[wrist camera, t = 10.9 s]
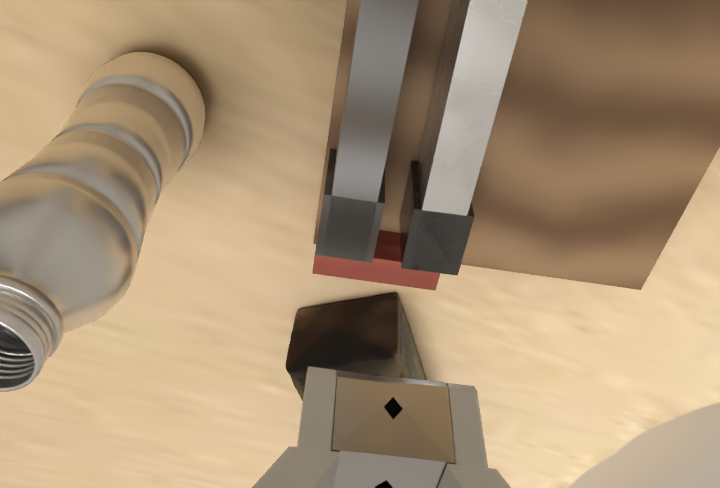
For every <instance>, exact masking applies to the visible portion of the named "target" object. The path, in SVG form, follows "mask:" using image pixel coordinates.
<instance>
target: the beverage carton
mask: <svg viewBox="0 0 720 488" xmlns="http://www.w3.org/2000/svg"><path fill="white" fill-rule="evenodd" d="M308 367H317V368H325V369H332V370H336V371H337V370H341V371H348V372H355V373H362V374H369V375H376V376H383V377H390V378H391V377H399V378H409V379H418V380H426V378H425V374H424V371H423V368H422V365H421V362H420V358H419V355H418V352H417V349H416V346H415V343H414V340H413V337H412V334H411V331H410V328H409V325H408V323H407V320H406V317H405V315H404V311H403V308H402V306H401V304H400V301H399V298H398V294H396V293H394V294H388V295H381V296H376V297H371V298H366V299H359V300H353V301H348V302H338V303H333V304H329V305H320V306H316V307H306V308H301V309H298V311H297V314H296V317H295V321H294V326H293V331H292V334H291V341H290V344H289V349H288V354H287V360H286V370H287V371H288V373H289V374H290V376H291V378H292V381H293V384H294V386H295V388H296V389H297V391H298V393H299V395H300V397H301V399H302V401H303V397H304V389H305V382H306V375H307V370H308Z"/></svg>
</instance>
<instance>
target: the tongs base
mask: <svg viewBox="0 0 720 488" xmlns="http://www.w3.org/2000/svg"><path fill="white" fill-rule="evenodd" d="M451 4H452V0H348V1H347V8H346V15H345V23H344V30H343V37H342V44H341V51H340V58H339V65H338V72H337V79H336V87H335V94H334V101H333V108H332V115H331V122H330V129H329V136H328V143H327V151H326V158H325V165H324V172H323V179H322V186H321V193H320V200H319V207H318V215H317V222H316V229H315V236H314V244H316V251H315V258H314V266H313V274H320V275H328V276H335V277H342V278H349V279H357V280H364V281H371V282H378V283H386V284H393V285H400V286H407V287H414V288H422V289H429V290H435V289H436V286H437V283H438V279H439V276H440V273H435V272H427V271H419V270H410V269H402V268H401V250H400V222H399V217H400V212H401V207H402V202H403V198H404V193H405V188H406V183H407V178H408V173H409V169H410V164H411V162H417V163H418V159H419V154H420V149H421V145H422V140H423V135H424V131H425V126H426V121H427V117H428V112H429V107H430V103H431V98H432V93H433V89H434V84H435V79H436V75H437V70H438V65H439V61H440V56H441V51H442V47H443V42H444V37H445V32H446V28H447V23H448V18H449V14H450V9H451ZM719 147H720V0H528V2H527V5H526V9H525V12H524V16H523V19H522V23H521V26H520V30H519V34H518V37H517V41H516V44H515V48H514V51H513V55H512V58H511V62H510V65H509V69H508V73H507V76H506V80H505V83H504V87H503V90H502V94H501V97H500V101H499V104H498V108H497V112H496V115H495V119H494V122H493V126H492V129H491V133H490V136H489V140H488V143H487V147H486V151H485V154H484V158H483V161H482V165H481V168H480V172H479V175H478V179H477V182H476V186H475V190H474V193H473V197H472V200H471V202H472V207H473V212H474V216H475V217H474V221H473V224H472V227H471V231H470V234H469V238H468V241H467V245H466V248H465V251H464V255H463V258H462V262H461V264H462V265H469V266H476V267H483V268H490V269H497V270H504V271H511V272H518V273H525V274H532V275H540V276H547V277H554V278H561V279H568V280H575V281H582V282H589V283H596V284H603V285H610V286H617V287H624V288H631V289H638V290H641V288H642V287H643V285H644V283H645V281H646V279H647V278H648V276H649V274H650V272H651V270H652V268H653V267H654V265H655V263H656V261H657V259H658V258H659V256H660V254H661V252H662V250H663V248H664V247H665V245H666V243H667V241H668V239H669V238H670V236H671V234H672V232H673V230H674V228H675V227H676V225H677V223H678V221H679V219H680V218H681V216H682V214H683V212H684V210H685V208H686V207H687V205H688V203H689V201H690V199H691V198H692V196H693V194H694V192H695V190H696V189H697V187H698V185H699V183H700V181H701V179H702V178H703V176H704V174H705V172H706V170H707V169H708V167H709V165H710V163H711V161H712V159H713V158H714V156H715V154H716V152H717V150H718V149H719Z"/></svg>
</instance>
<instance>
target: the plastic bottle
mask: <svg viewBox="0 0 720 488" xmlns="http://www.w3.org/2000/svg"><path fill="white" fill-rule="evenodd" d="M204 123H205V106H204V100H203V97H202V94H201V92H200V89H199V88H198V86H197V84H196V83H195V81H194V80H193V78H192V77H191V76H190V75H189V74H188V73H187V71H185V70H184V69H183V68H182V67H181V66H179V65H178V64H177V63H175V62H173V61H172V60H170V59H168V58H166V57H163V56H161V55H158V54H154V53H148V52H132V53H128V54H124V55H121V56H119V57H117V58H116V59H114V60H112V61H110V62H108V63H106V64H104V65H102V66H101V67H100V68H99V69H98V70H96V71H95V72H94V73H93V75H92V76H91V77H90V79H89V80H88V82H87V84H86V85H85V87H84V89H83V91H82V93H81V95H80V98H79V100H78V103H77V106H76V109H75V110H74V112H73V114H72V115H71V117H70V118H69V120H68V121H67V123H66V124H65V126H64V127H63V129H62V131H61V132H60V133H59V134H58V135H57V136H56V137H55V138H54V139H53V140H52V141H51V142H50V143H49V144H48V145H47V146H46V147H45V148H44V149H43V150H41V151H40V152H39V153H38V154H37V155H36V156H35V157H34V158H33V159H32V160H30V161H29V162H27V163H26V164H25V165H23V166H22V167H21V168H19V169H18V170H16V171H15V172H14V173H12V174H11V175H10V176H8V177H7V178H5V179H4V180H3V181H2V182H0V392H7V391H13V390H17V389H20V388H23V387H25V386H27V385H28V384H30V383H31V382H32V381H33V380H34V379H35V377H36V376H37V375H38V374H39V372H40V371H41V369H42V367H43V365H44V363H45V362H46V360H47V358H48V357H50V356H51V355H52V354H53V353H54V351H55V350H56V348H57V347H58V345H59V343H60V341H61V339H62V337H63V333H64V332H68V331H70V330H73V329H76V328H78V327H81V326H83V325H86V324H88V323H91V322H93V321H95V320H97V319H98V318H100V317H101V316H103V315H104V314H105V313H106V312H108V311H109V310H110V309H111V308H112V307H113V306H114V305H115V304H116V303H117V302H118V301H119V300H120V299H121V298H122V297H123V296H124V295H125V293H126V291H127V289H128V287H129V285H130V283H131V280H132V277H133V275H134V272H135V269H136V264H137V261H138V257H139V253H140V249H141V245H142V241H143V238H144V234H145V230H146V227H147V224H148V222H149V219H150V217H151V215H152V212H153V210H154V207H155V205H156V203H157V200H158V198H159V196H160V194H161V193H162V191H163V190H164V189H165V187H166V186H167V184H168V183H169V181H170V180H171V179H172V177H173V176H174V174H175V173H177V172H178V171H179V170H180V169H181V168H182V167H183V166H184V165H185V163H186V162H187V161H188V160H189V159H190V158H191V156H192V155H193V154H194V153H195V151H196V150H197V148H198V146H199V144H200V142H201V139H202V135H203V130H204Z"/></svg>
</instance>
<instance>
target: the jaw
mask: <svg viewBox="0 0 720 488" xmlns="http://www.w3.org/2000/svg"><path fill="white" fill-rule="evenodd" d="M527 2H528V0H452V4H451V9H450V14H449V18H448V23H447V28H446V32H445V37H444V42H443V47H442V51H441V56H440V61H439V65H438V70H437V75H436V79H435V84H434V89H433V93H432V98H431V103H430V107H429V112H428V117H427V121H426V126H425V131H424V135H423V140H422V145H421V149H420V154H419V159H418V163H417V162H411V164H410V169H409V173H408V178H407V183H406V188H405V193H404V198H403V202H402V207H401V212H400V217H399V222H400V250H401V268H402V269H410V270H419V271H427V272H435V273H443V274H451V275H458V272H459V269H460V265H461V262H462V258H463V255H464V251H465V248H466V245H467V241H468V238H469V234H470V231H471V227H472V224H473V221H474V217H475V216H474V212H473V207H472V202H471V200H472V197H473V193H474V190H475V186H476V182H477V179H478V175H479V172H480V168H481V165H482V161H483V158H484V154H485V151H486V147H487V143H488V140H489V136H490V133H491V129H492V126H493V122H494V119H495V115H496V112H497V108H498V104H499V101H500V97H501V94H502V90H503V87H504V83H505V80H506V76H507V73H508V69H509V65H510V62H511V58H512V55H513V51H514V48H515V44H516V41H517V37H518V34H519V30H520V26H521V23H522V19H523V16H524V12H525V9H526V5H527Z"/></svg>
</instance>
